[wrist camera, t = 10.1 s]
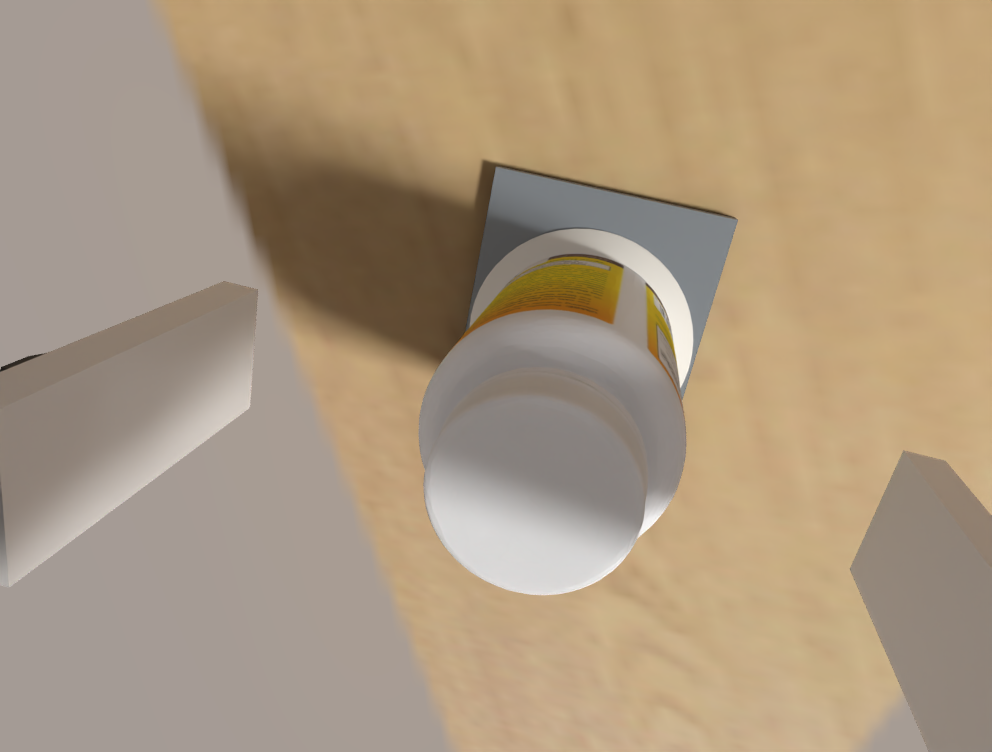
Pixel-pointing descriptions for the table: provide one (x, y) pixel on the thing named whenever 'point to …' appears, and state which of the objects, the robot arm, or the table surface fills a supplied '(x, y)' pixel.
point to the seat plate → (606, 245)
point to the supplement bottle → (555, 427)
